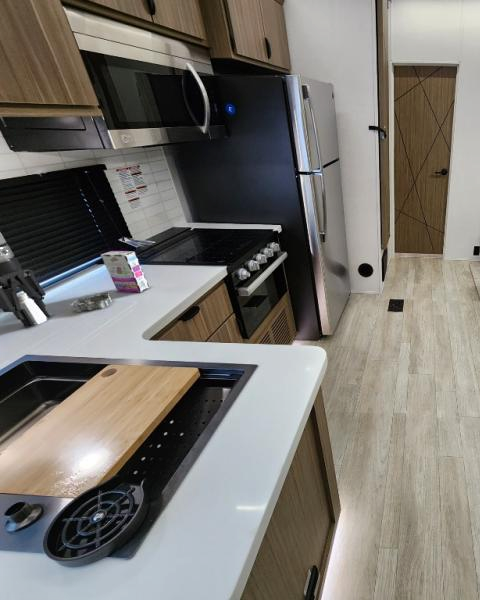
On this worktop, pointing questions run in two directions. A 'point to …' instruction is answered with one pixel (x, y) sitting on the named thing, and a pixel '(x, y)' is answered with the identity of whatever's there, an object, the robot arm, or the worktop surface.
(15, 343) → the worktop surface
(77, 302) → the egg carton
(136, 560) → the worktop surface
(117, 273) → the candy bar box
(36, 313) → the pepper shaker
